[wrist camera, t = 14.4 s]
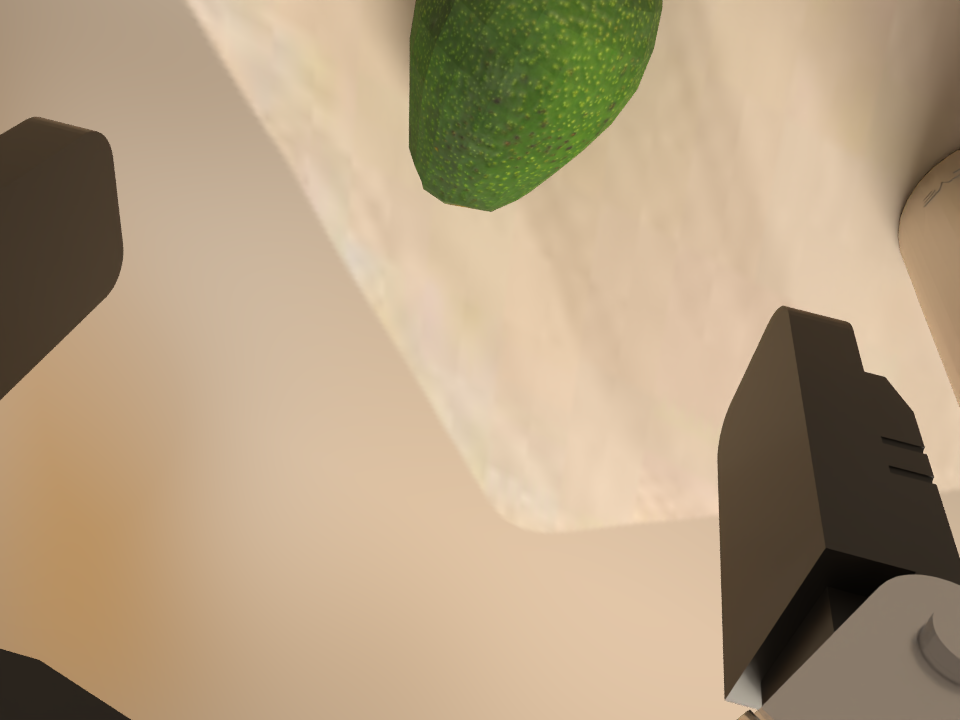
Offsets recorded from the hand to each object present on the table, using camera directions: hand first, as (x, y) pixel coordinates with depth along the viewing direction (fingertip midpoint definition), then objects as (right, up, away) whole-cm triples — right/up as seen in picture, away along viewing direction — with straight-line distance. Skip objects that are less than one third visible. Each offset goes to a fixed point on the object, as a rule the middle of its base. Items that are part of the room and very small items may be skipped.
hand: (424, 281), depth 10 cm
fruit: (+3, +15, +31) cm, 34 cm away
